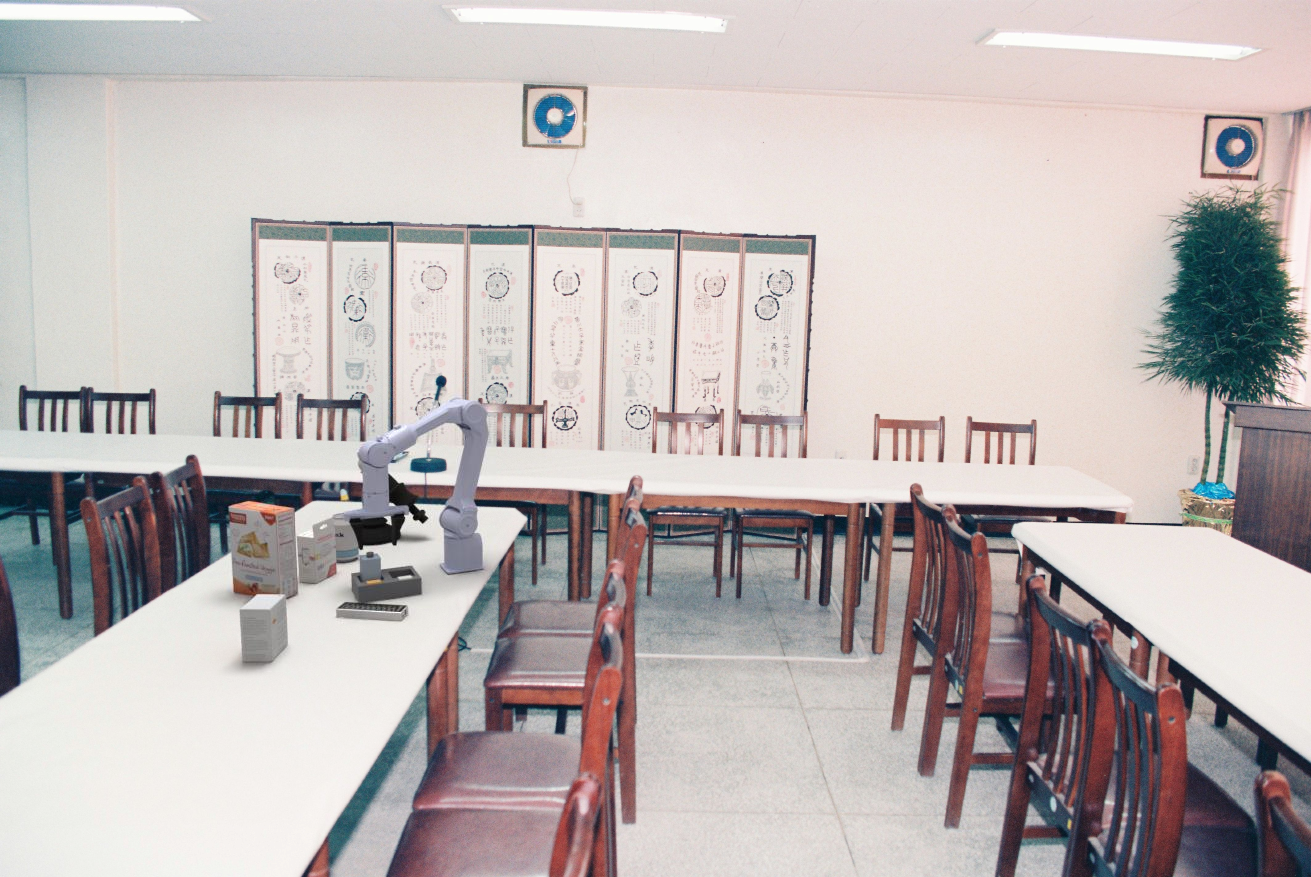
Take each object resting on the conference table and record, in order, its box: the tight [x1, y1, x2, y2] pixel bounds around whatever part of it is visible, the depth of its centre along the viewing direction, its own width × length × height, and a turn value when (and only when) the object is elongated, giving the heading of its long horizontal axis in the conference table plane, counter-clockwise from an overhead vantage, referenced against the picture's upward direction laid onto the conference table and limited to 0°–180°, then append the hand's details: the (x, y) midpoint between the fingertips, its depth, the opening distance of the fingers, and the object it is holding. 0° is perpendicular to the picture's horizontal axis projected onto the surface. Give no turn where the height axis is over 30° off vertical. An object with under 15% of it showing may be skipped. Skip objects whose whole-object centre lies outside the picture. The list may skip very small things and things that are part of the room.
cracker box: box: [228, 500, 299, 600], centre depth 176 cm, size 14×6×21 cm, turn 70°
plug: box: [359, 551, 382, 583], centre depth 179 cm, size 4×4×9 cm
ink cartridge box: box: [296, 516, 338, 584], centre depth 189 cm, size 9×5×15 cm, turn 168°
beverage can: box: [331, 512, 360, 563], centre depth 203 cm, size 7×7×12 cm
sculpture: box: [357, 459, 429, 547], centre depth 222 cm, size 15×24×25 cm, turn 88°
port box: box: [350, 565, 423, 603], centre depth 181 cm, size 14×10×4 cm
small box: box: [239, 594, 289, 663], centre depth 147 cm, size 8×6×10 cm
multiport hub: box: [335, 601, 409, 622], centre depth 168 cm, size 4×14×2 cm, turn 86°
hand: (377, 546), depth 184 cm, fingers open, 7 cm apart
